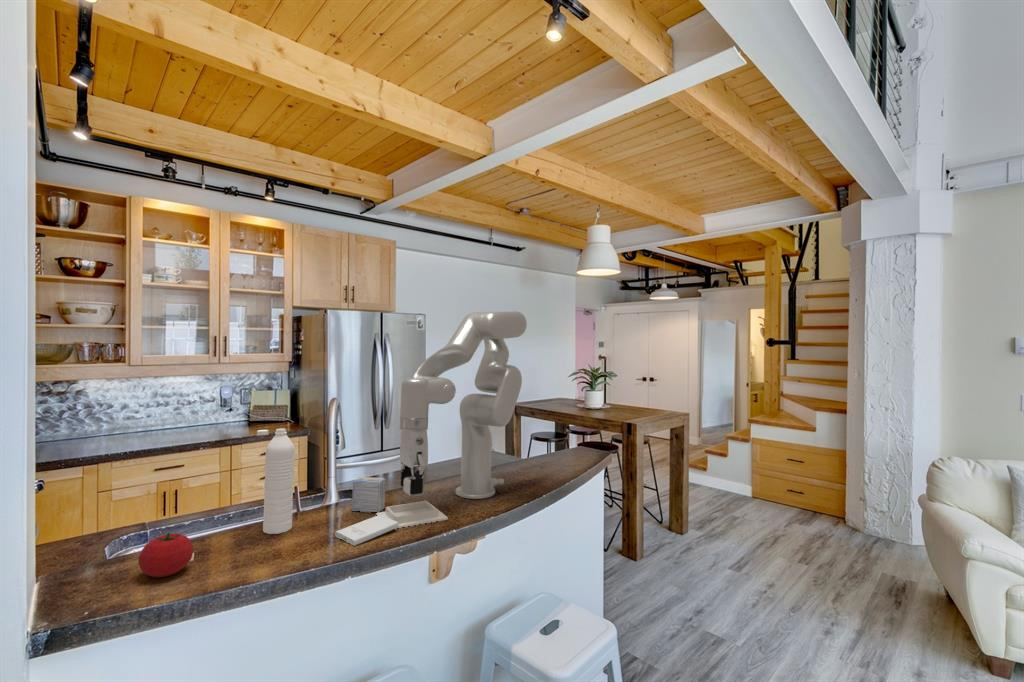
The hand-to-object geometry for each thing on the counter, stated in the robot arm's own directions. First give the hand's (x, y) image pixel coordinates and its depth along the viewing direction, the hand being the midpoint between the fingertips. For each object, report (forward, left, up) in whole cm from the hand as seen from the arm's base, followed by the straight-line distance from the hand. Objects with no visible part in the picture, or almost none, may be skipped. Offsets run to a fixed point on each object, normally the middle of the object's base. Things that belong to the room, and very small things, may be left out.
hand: (411, 489), depth 126 cm
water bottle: (+33, -7, -8) cm, 34 cm away
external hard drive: (+13, +6, -8) cm, 16 cm away
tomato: (+53, +7, -8) cm, 54 cm away
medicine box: (+8, -11, -8) cm, 16 cm away
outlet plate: (0, 0, -8) cm, 8 cm away
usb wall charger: (0, 0, -1) cm, 1 cm away
